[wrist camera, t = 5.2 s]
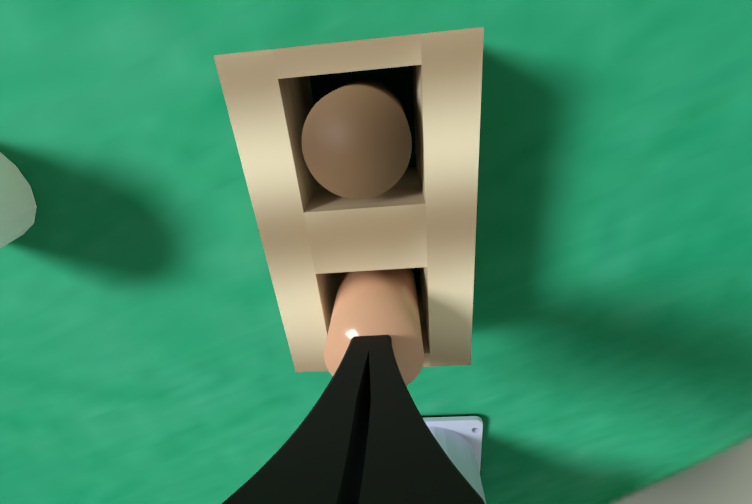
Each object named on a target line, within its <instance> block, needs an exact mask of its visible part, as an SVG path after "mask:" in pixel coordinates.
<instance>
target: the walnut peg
mask: <svg viewBox="0 0 752 504" xmlns="http://www.w3.org/2000/svg"><path fill="white" fill-rule="evenodd" d="M411 151H412V139H411V133H410V128H409V125H408V122H407V118H406V115H405V112H404V109H403V106H402V104H401V102H400V100H399V98H398V97H397V96H396V94H395V93H394V92H393V91H392V90H391V89H390V88H388V87H387V86H386V85H384V84H382V83H380V82H377V81H374V80H368V79H360V80H354V81H351V82H349V83H347V84H345V85H343V86H341V87H339V88H338V89H336V90H334V91H332V92H330V93H328V94H327V95H325V96H324V97H323V98H321V99H320V100H319V101H318V102H317V103H316V104H315V105H314V107H313V108H312V109H311V111H310V112H309V114H308V116H307V118H306V120H305V123H304V127H303V131H302V152H303V156H304V160H305V162H306V165H307V167H308V169H309V171H310V172H311V174H312V175H313V177H314V178H315V179H316V180H317V181H318V182H319V183H320V184H321V185H322V186H323V187H324V188H326V189H327V190H329V191H330V192H332V193H334V194H336V195H338V196H341V197H345V198H349V199H368V198H372V197H376V196H378V195H380V194H383V193H384V192H386V191H388V190H389V189H390V188H392V187H393V186H394V185H395V184H396V183H397V182H398V181H399V180H400V178H401V177H402V176H403V174H404V172H405V171H406V169H407V166H408V164H409V160H410V157H411Z"/></svg>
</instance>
